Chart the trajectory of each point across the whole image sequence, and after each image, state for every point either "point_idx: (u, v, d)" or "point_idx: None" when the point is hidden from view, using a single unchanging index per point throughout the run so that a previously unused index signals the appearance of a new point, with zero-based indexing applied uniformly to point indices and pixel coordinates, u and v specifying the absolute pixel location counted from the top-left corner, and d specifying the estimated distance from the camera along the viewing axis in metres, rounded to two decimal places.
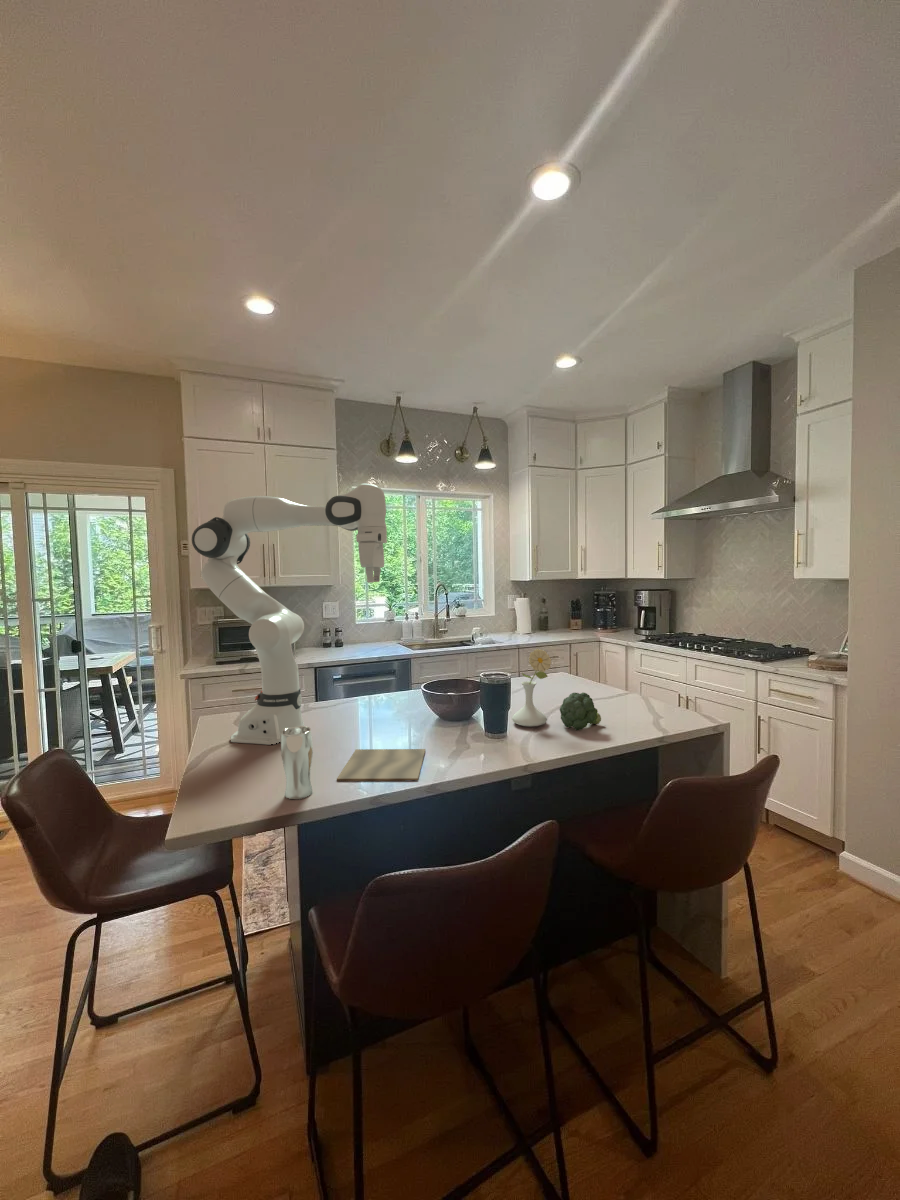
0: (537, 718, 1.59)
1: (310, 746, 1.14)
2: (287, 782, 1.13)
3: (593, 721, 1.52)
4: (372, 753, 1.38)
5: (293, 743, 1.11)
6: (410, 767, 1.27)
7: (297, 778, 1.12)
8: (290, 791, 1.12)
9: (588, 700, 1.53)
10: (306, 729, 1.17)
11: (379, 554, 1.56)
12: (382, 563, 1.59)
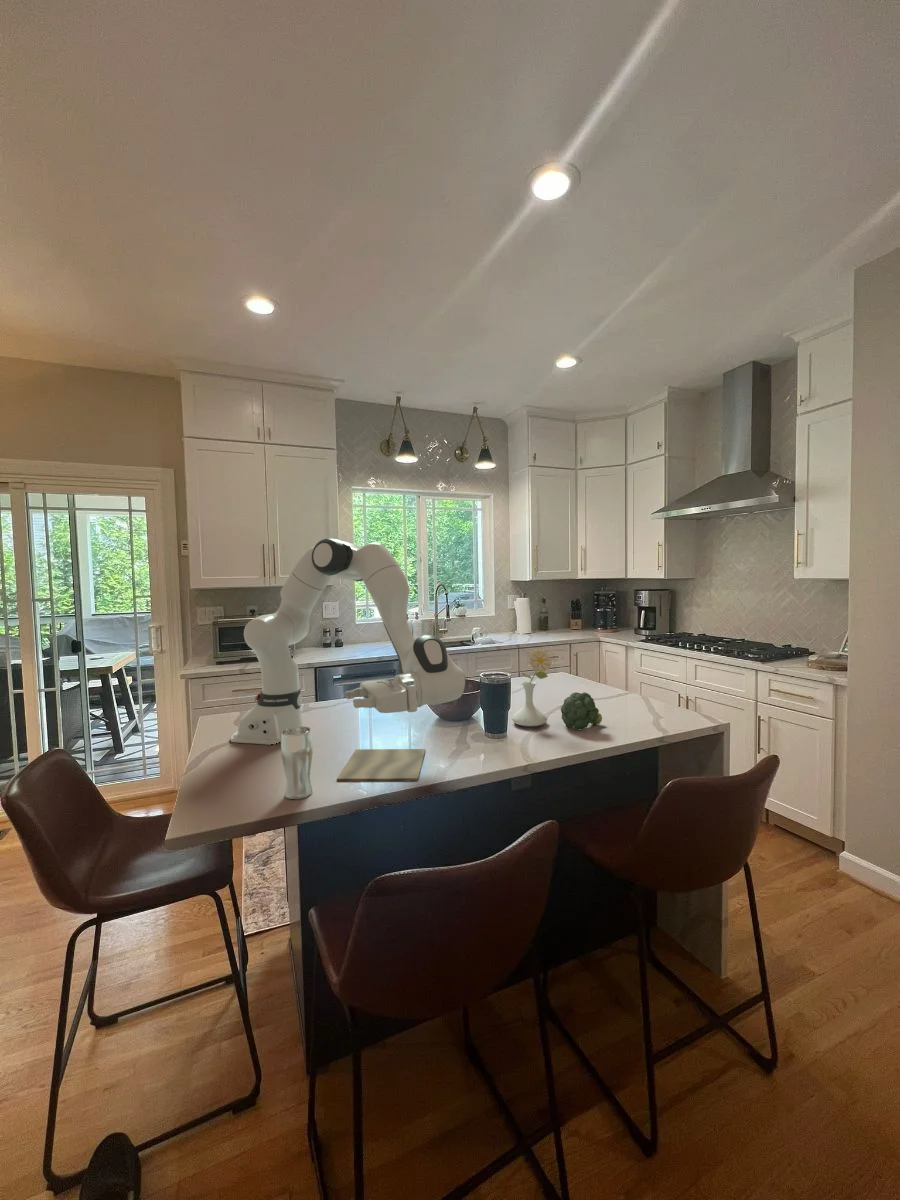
0: (537, 718, 1.59)
1: (310, 746, 1.14)
2: (287, 782, 1.13)
3: (594, 721, 1.52)
4: (372, 753, 1.38)
5: (293, 743, 1.11)
6: (410, 767, 1.27)
7: (297, 778, 1.12)
8: (290, 791, 1.12)
9: (589, 700, 1.54)
10: (306, 729, 1.17)
11: None
12: None
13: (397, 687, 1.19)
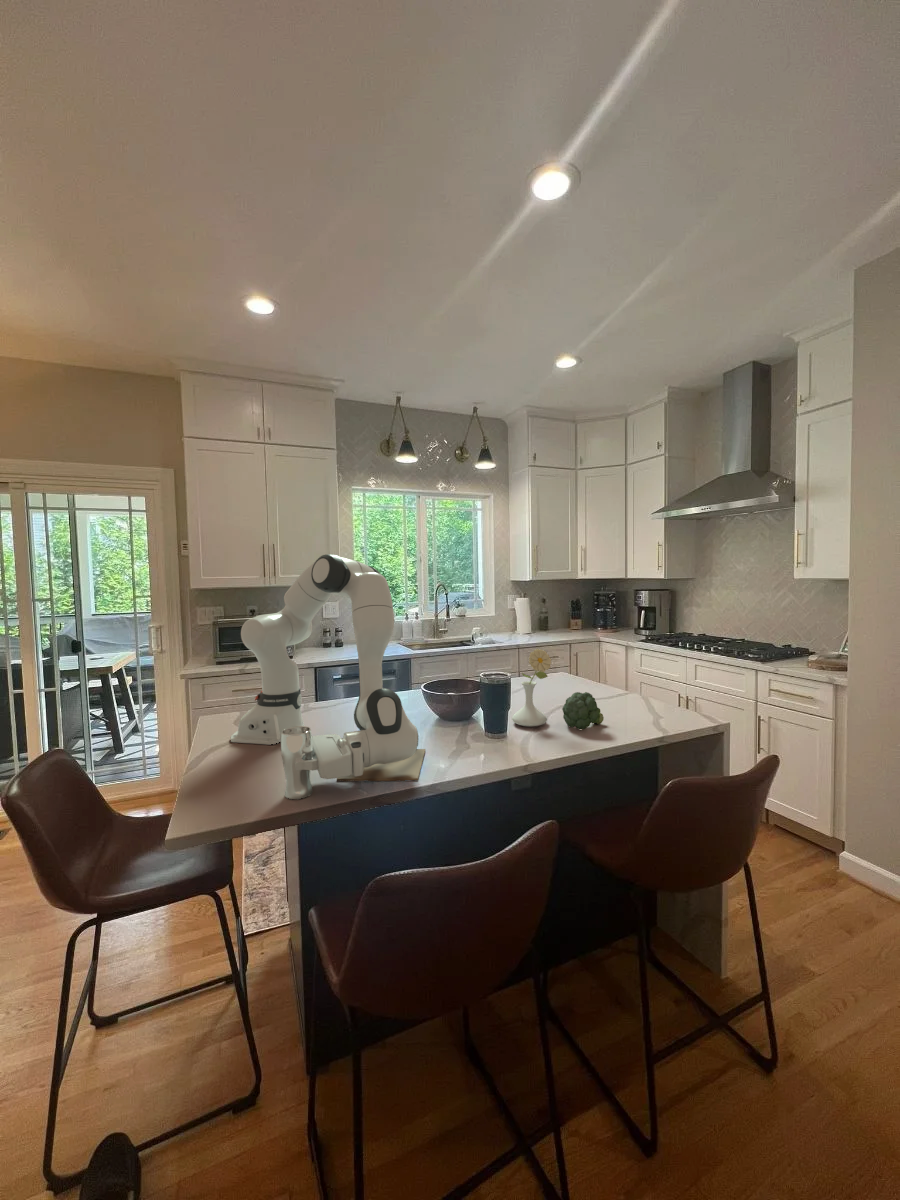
0: (537, 718, 1.59)
1: (310, 746, 1.14)
2: (287, 782, 1.13)
3: (596, 721, 1.52)
4: None
5: (293, 743, 1.11)
6: (410, 767, 1.27)
7: (297, 778, 1.12)
8: (290, 791, 1.12)
9: (591, 700, 1.54)
10: (306, 729, 1.17)
11: None
12: None
13: (343, 748, 1.14)
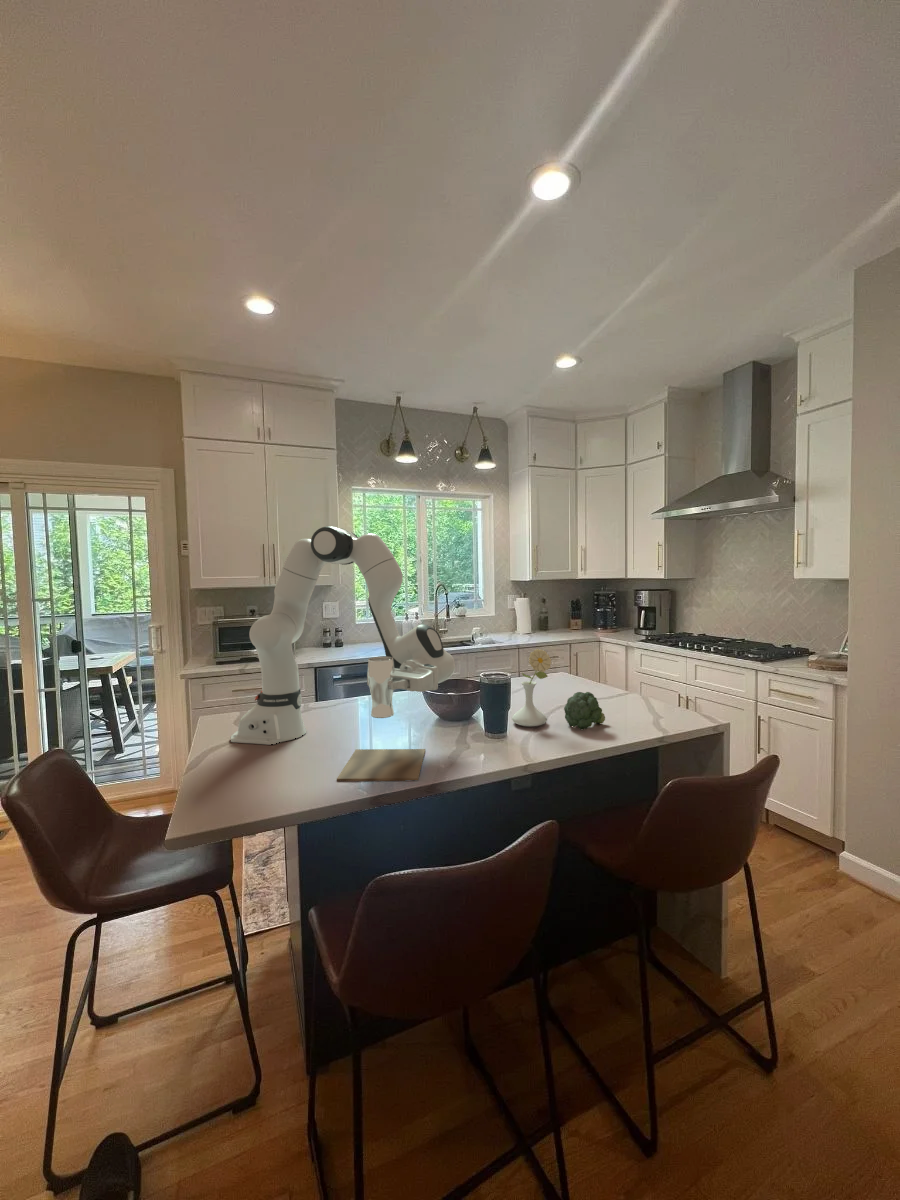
0: (537, 718, 1.59)
1: None
2: (377, 704, 1.28)
3: (598, 720, 1.53)
4: (372, 753, 1.38)
5: (387, 667, 1.27)
6: (410, 767, 1.27)
7: (388, 698, 1.28)
8: (382, 711, 1.28)
9: (593, 699, 1.54)
10: (382, 658, 1.33)
11: None
12: None
13: (418, 670, 1.35)
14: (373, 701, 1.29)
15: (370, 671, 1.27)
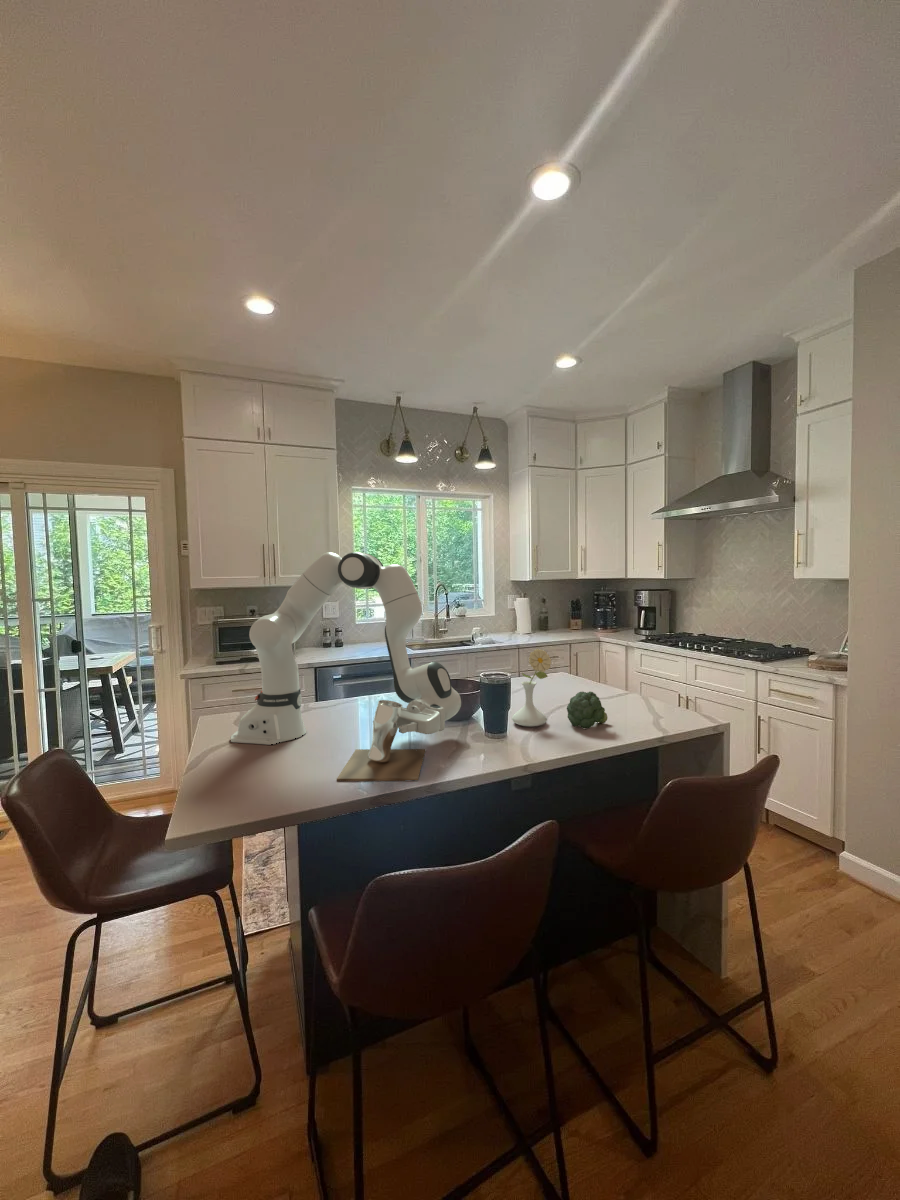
0: (537, 718, 1.59)
1: None
2: (377, 747, 1.30)
3: (600, 720, 1.53)
4: None
5: (395, 714, 1.30)
6: (410, 767, 1.27)
7: (388, 744, 1.31)
8: (380, 755, 1.30)
9: (595, 699, 1.55)
10: (391, 703, 1.35)
11: None
12: None
13: (425, 711, 1.38)
14: (373, 743, 1.31)
15: (378, 714, 1.30)
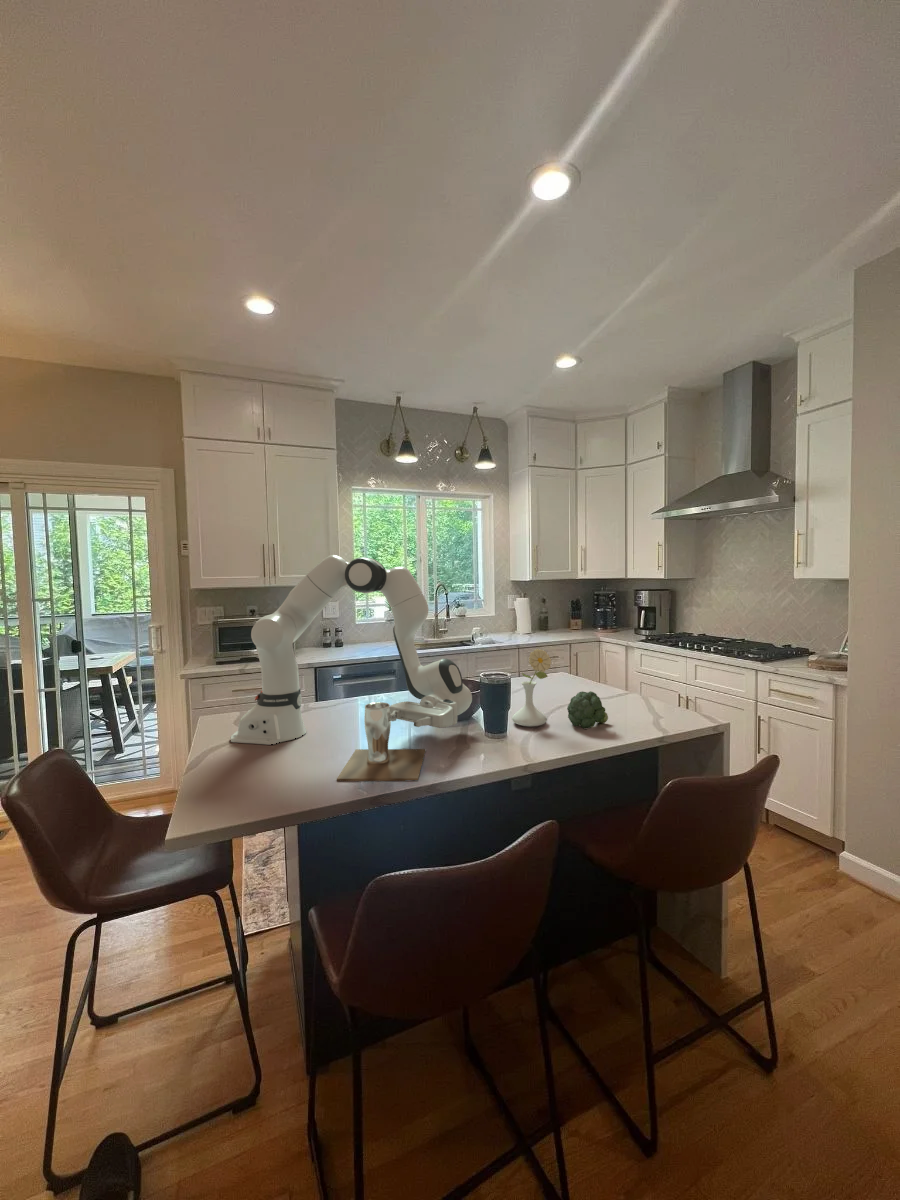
0: (537, 718, 1.59)
1: None
2: (373, 751, 1.30)
3: (601, 720, 1.53)
4: None
5: (383, 715, 1.29)
6: (410, 767, 1.27)
7: (384, 745, 1.30)
8: (378, 758, 1.30)
9: (596, 699, 1.55)
10: (379, 704, 1.35)
11: None
12: None
13: (439, 706, 1.42)
14: (369, 747, 1.31)
15: (366, 718, 1.29)
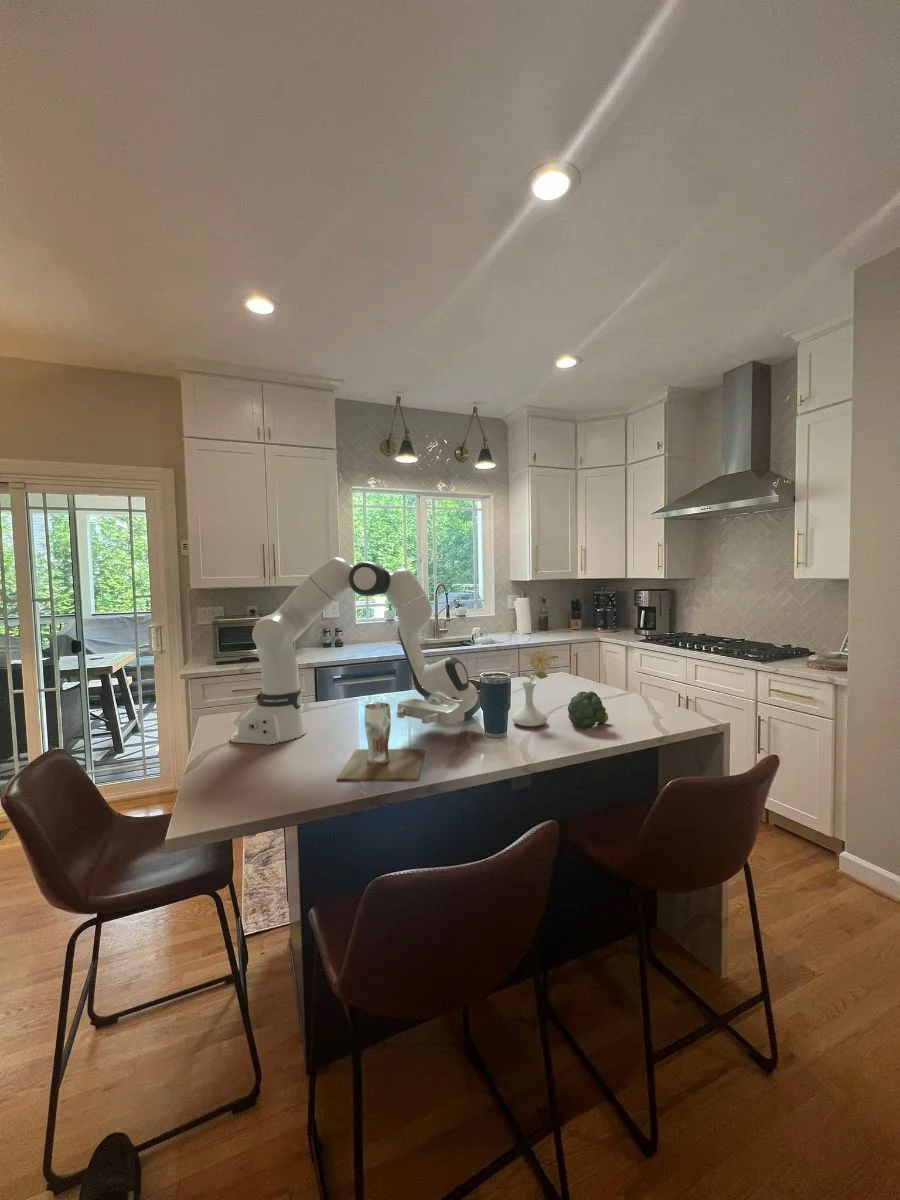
0: (537, 718, 1.59)
1: None
2: (373, 751, 1.30)
3: (601, 720, 1.53)
4: None
5: (383, 715, 1.29)
6: (410, 767, 1.27)
7: (384, 745, 1.30)
8: (378, 758, 1.30)
9: (596, 699, 1.55)
10: (379, 704, 1.35)
11: None
12: None
13: (446, 703, 1.45)
14: (369, 747, 1.31)
15: (366, 718, 1.29)
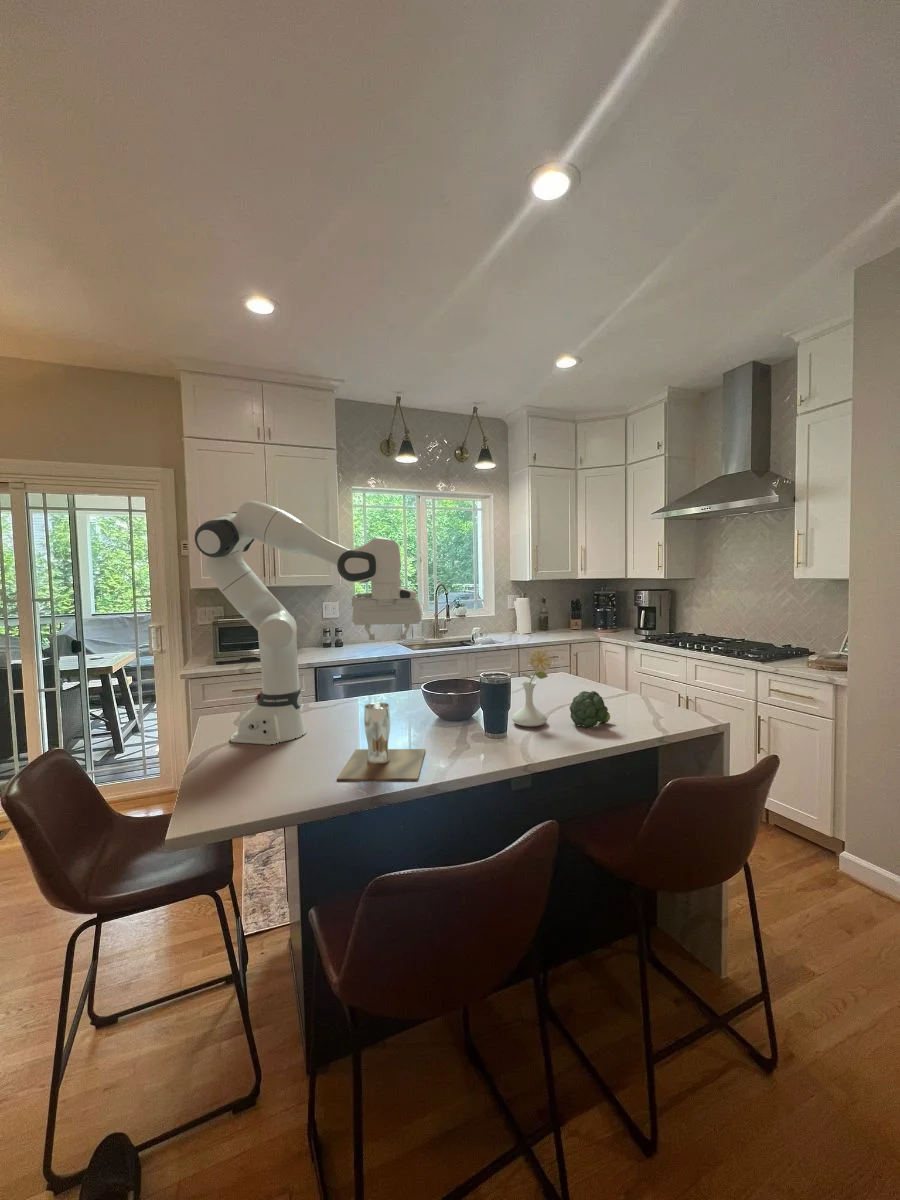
0: (537, 718, 1.59)
1: None
2: (373, 751, 1.30)
3: (603, 719, 1.54)
4: None
5: (383, 715, 1.29)
6: (410, 767, 1.27)
7: (384, 745, 1.30)
8: (378, 758, 1.30)
9: (598, 698, 1.55)
10: (378, 704, 1.35)
11: None
12: None
13: (400, 603, 1.43)
14: (369, 748, 1.31)
15: (366, 718, 1.29)
